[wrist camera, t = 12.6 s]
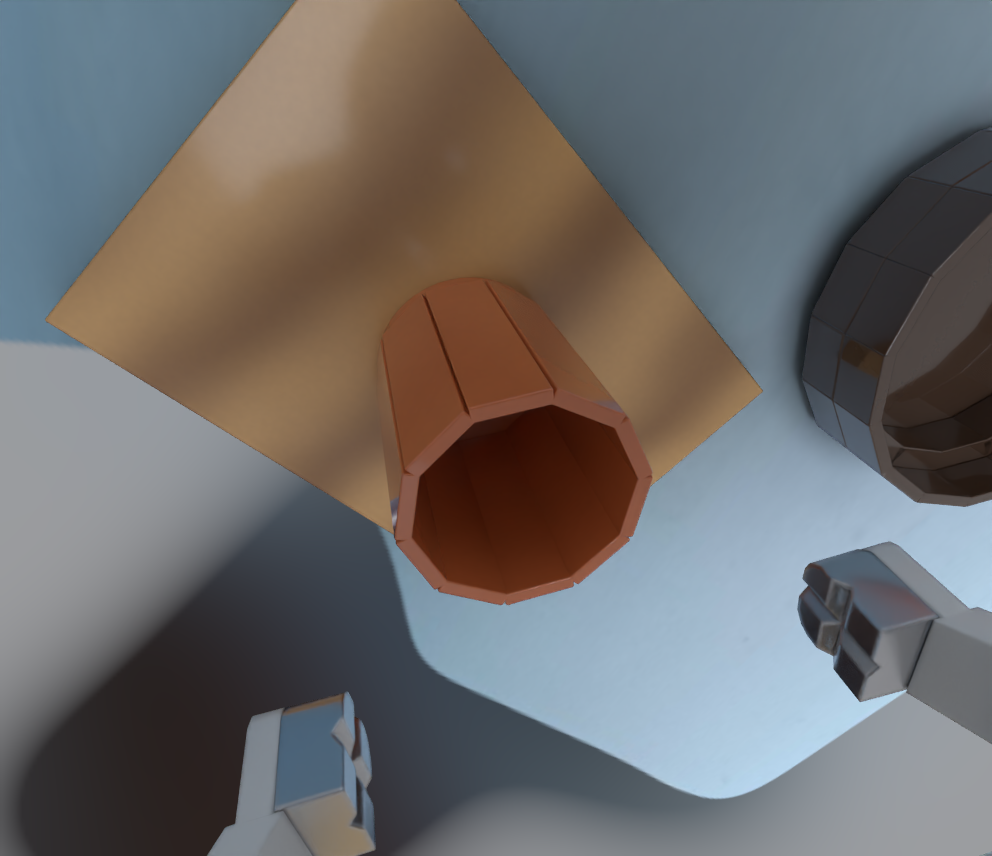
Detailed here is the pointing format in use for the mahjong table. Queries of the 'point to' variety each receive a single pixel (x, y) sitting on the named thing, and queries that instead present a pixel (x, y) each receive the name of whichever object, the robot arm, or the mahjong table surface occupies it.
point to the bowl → (914, 333)
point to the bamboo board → (381, 247)
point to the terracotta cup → (501, 446)
